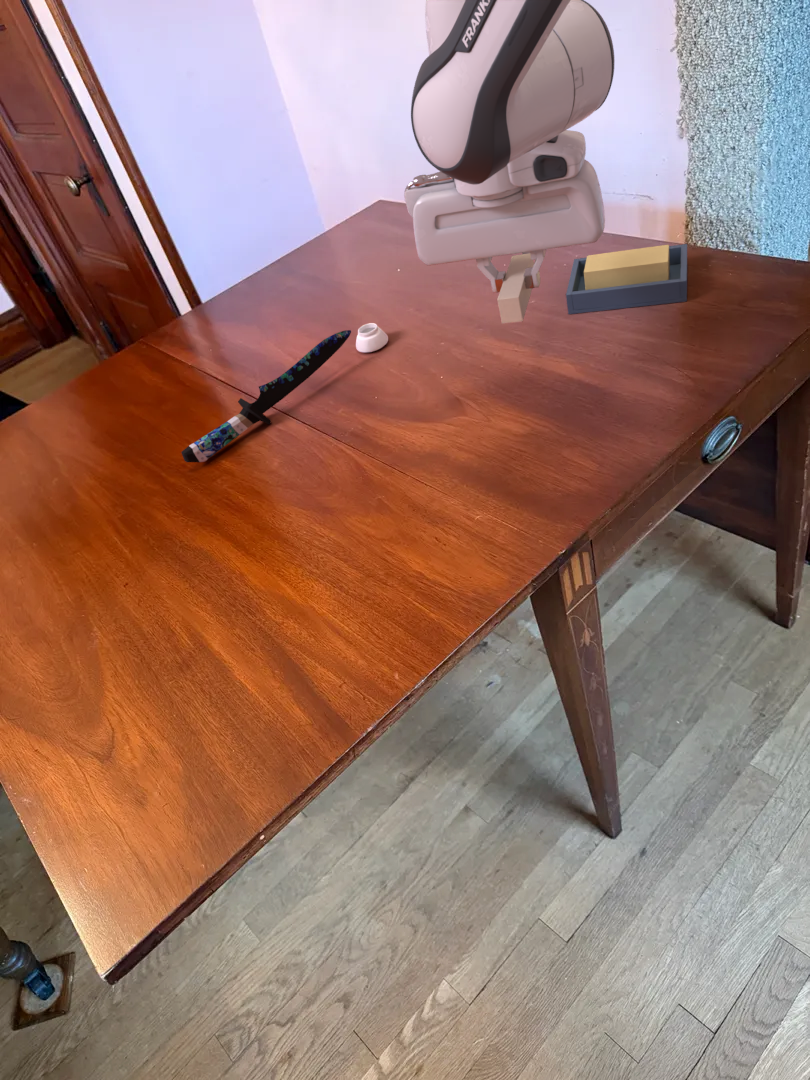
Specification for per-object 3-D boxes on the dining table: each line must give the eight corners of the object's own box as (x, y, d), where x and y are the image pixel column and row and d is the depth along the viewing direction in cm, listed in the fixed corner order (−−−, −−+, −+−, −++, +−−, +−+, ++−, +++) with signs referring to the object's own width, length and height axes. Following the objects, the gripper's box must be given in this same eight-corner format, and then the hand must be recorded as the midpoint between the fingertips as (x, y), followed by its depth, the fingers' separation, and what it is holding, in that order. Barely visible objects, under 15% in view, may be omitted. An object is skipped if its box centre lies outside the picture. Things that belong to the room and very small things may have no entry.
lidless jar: (365, 358, 111) (394, 343, 112) (359, 341, 109) (389, 326, 110) (352, 347, 115) (380, 333, 116) (346, 330, 113) (374, 316, 114)
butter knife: (523, 321, 82) (518, 297, 80) (501, 324, 83) (497, 299, 81) (550, 227, 97) (547, 204, 95) (531, 229, 98) (528, 207, 96)
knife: (199, 478, 102) (181, 455, 99) (190, 470, 104) (173, 446, 101) (367, 351, 109) (356, 325, 106) (356, 345, 111) (344, 320, 108)
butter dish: (687, 263, 106) (687, 243, 104) (686, 301, 99) (686, 280, 97) (576, 277, 112) (574, 258, 110) (568, 314, 105) (565, 294, 103)
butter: (669, 271, 105) (669, 244, 102) (668, 289, 102) (668, 261, 99) (589, 281, 109) (587, 255, 106) (586, 298, 106) (583, 272, 103)
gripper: (391, 191, 77) (424, 312, 86) (594, 154, 70) (606, 291, 79) (407, 167, 81) (436, 285, 90) (600, 130, 74) (610, 263, 83)
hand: (517, 288), depth 85 cm, fingers closed on butter knife, 2 cm apart
